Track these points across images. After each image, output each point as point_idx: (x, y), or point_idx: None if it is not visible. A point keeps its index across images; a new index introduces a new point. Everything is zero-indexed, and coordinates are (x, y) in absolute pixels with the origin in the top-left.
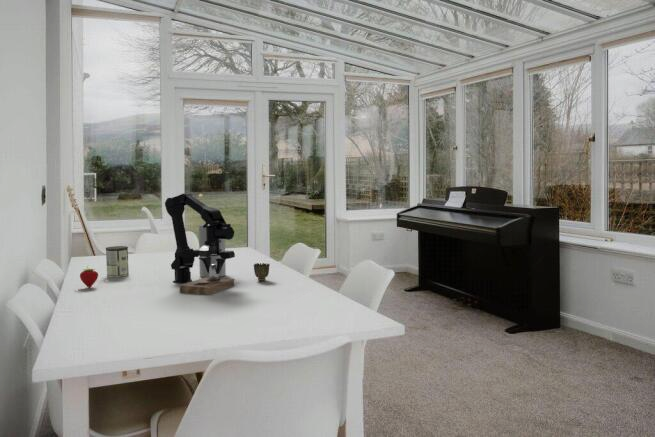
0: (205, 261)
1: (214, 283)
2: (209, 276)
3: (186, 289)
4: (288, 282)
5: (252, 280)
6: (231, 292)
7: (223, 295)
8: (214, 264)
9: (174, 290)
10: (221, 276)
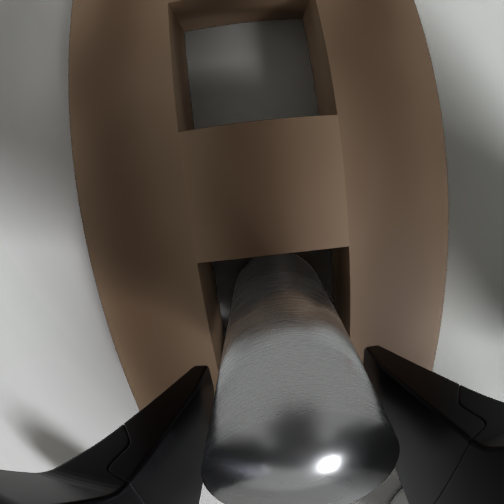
0: (493, 440)
1: (125, 151)
2: (314, 297)
3: None
4: (33, 472)
5: None
6: (11, 172)
7: (10, 72)
8: (275, 481)
9: (460, 36)
10: (395, 495)
